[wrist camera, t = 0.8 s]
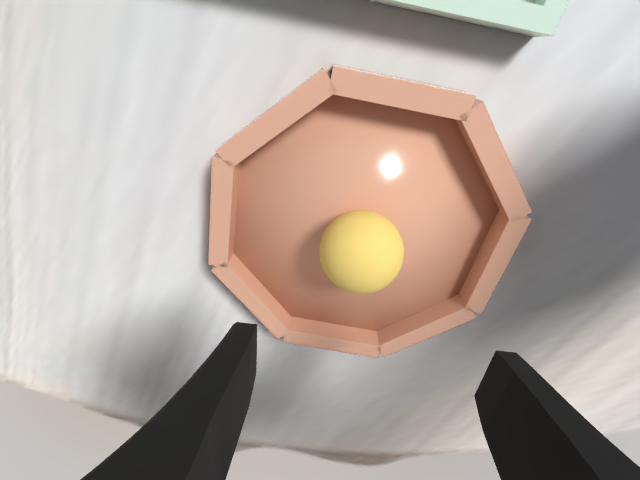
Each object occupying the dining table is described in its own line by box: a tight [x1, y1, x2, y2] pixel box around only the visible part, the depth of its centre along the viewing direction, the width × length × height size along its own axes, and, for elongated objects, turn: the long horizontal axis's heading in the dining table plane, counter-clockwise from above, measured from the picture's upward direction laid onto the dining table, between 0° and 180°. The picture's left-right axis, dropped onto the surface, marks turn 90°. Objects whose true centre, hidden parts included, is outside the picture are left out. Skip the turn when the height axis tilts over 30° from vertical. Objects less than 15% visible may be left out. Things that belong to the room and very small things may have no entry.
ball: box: [319, 210, 404, 294], centre depth 17 cm, size 4×4×4 cm
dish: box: [208, 64, 532, 358], centre depth 18 cm, size 15×15×2 cm
